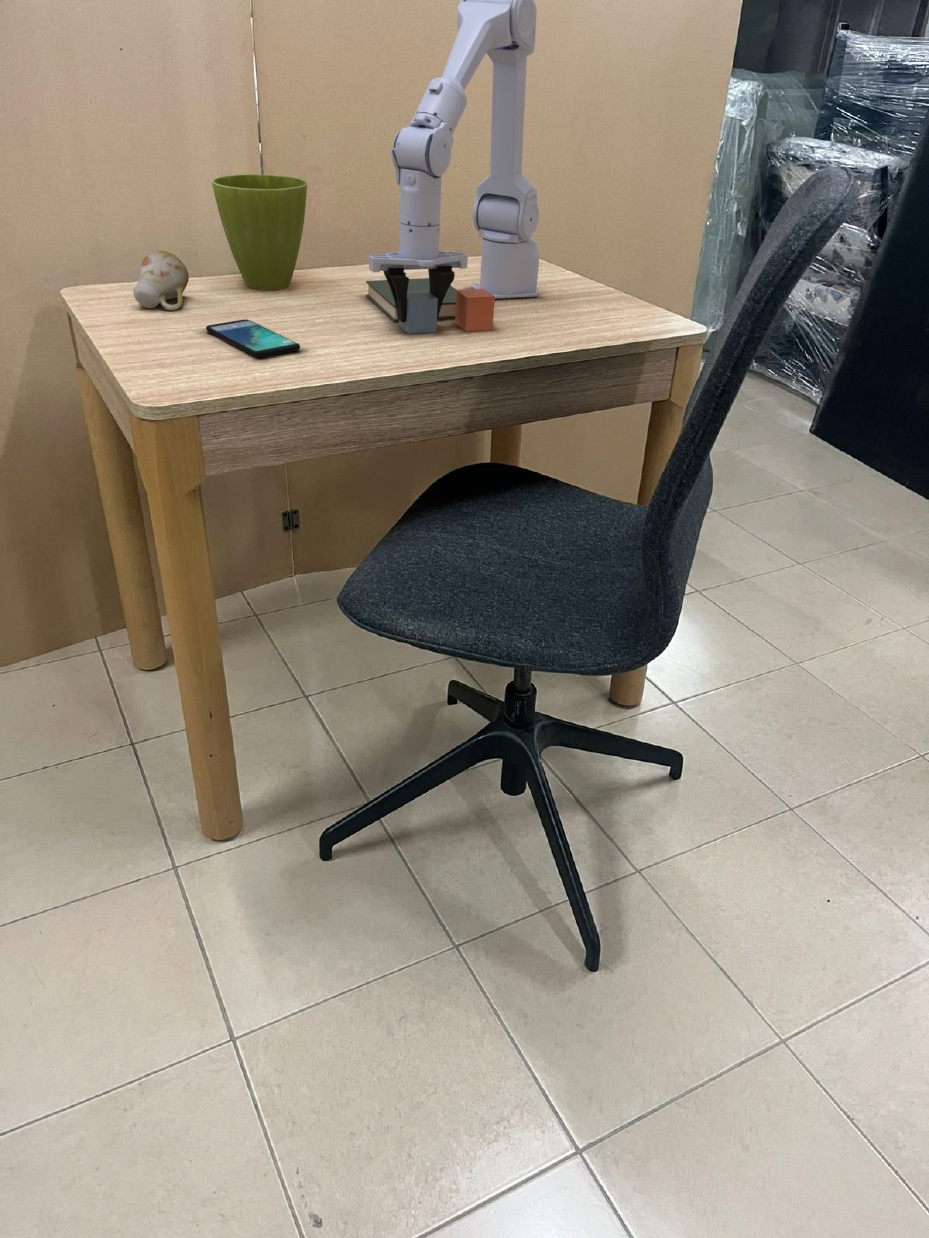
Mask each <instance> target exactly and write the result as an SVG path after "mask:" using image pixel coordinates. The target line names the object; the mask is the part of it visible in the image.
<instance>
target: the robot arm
mask: <svg viewBox="0 0 929 1238" xmlns="http://www.w3.org/2000/svg"><path fill="white" fill-rule="evenodd" d="M456 8H457V9H456V25H457V31H458V32H457V34H456V37H455V39H454V42H453V45H452V47H451V51H450V53H449V55H448V59H447V60H446V61H447V62H446V64H445V67H444V70H443V71H442V75H441V77H436V78H433V79H431V81H430V82H429V84H428V86H427V88H426V90H425V92H424V94H423V96H422V97H421V100H420V102H419V105H418V107H417V109H416V111H415V112H414V115H413V117H412V119H411V122H410V123H409V125H405V127H402V129H400V130H398V131H397V133H396V134H395V137H394V140H393V143H392V149H391V150H390V154H391V160H392V164H393V167H394V169H395V182H396V184H397V186H399V243H398V245H399V246H398V247H399V251H395V252H388V253H382V254H370V255H369V256H368V269H369V270H370V271H371V272H372V273H380V272H383V275H384V277H385V280H387V282H388V284H389V286H390V289H391V292H392V294H393V298H394V301H395V305H396V310H397V317H398V319H399V320H400V321H401V322H406V315H407V290H408V284H409V279H410V278H409V277H408V276H407V275H406V274H407V272H405V271H410V270H411V271H412V270H428V272H427V273H428V278H429V284H430V293H431V294H433V295H434V296H435V297H436V298H438V303H437V321H439V319H438V317H439V313H440V309H441V306H442V303H443V300H444V297H445V295H446V293H447V291H448V289H449V287H450V285H451V286H452V283H453V282H454V281H455V276H456V275H455V274H456V273H455V271H453V269H458V268H459V269H461V270H466V269H468V263H469V262H468V261H469V260H468V258H469V255H468V254H466V253H465V252H463V251H440V229H441V202H442V201H441V198H442V197H441V195H442V176H443V175H444V174H445V173H446V171H447V170H448V168H449V166H450V163H451V158H452V148H453V145H454V139H455V138H454V137H453V135H454V132H455V131H456V128H457V127H458V124H459V122H460V120H461V118H462V115H463V113H464V111H465V109H466V107H467V104H468V98H467V95H466V93H465V90H466V88H467V87H468V85H469V83H470V82H471V80H472V78H473V76H474V75H475V73H476V71H477V70H478V67H479V66H480V64H481V63H482V61H483V59H484V58H485V56H486V55H487V57H488V58H489V59H490V60H491V62H492V90H491V91H492V92H491V93H492V96H491V124H490V125H491V126H490V127H491V128H490V129H491V130H490V160H489V161H490V162H489V163H490V165H489V166H490V167H489V175H488V176H487V177H486V178H485V179H483V180H482V181H481V182H480V183H479V184H478V185H477V187H476V194H475V200H474V204H473V208H472V222H473V225H474V228H475V230H476V231H477V232H478V237H479V238H482V241H481V243H482V244H481V256H480V257H481V260H480V274H479V283H475V284H473V283H472V284H471V286H470V287H471V289H485V290H486V291H488V292H489V293H491V294H492V295H494V296H495V300H496V299H513V298H532V297H534V298H535V297H538V296H539V293H538V292H537V287H538V278H539V267H540V248H539V244H538V242H537V241H536V239H535V238H533V237H532V236H533V235H534V234H535V232H536V229H537V228H538V224H539V217H540V210H539V205H538V191H537V190H538V189H537V188H536V186H535V185H534V184H532V182H530V181H529V179H527V178H526V177H525V176H524V175H523V173H522V171H523V170H522V169H523V152H524V151H523V149H524V148H523V147H524V131H525V130H524V129H525V128H524V125H525V107H526V87H527V86H526V84H527V67H528V66H527V65H528V64H527V63H528V56H530V55H532V54H533V53H534V52H535V43H536V32H537V30H536V29H537V4H536V3H535V0H459V3H458V5H457V7H456Z"/></svg>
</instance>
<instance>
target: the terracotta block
mask: <svg viewBox="0 0 929 1238" xmlns="http://www.w3.org/2000/svg"><path fill="white" fill-rule="evenodd" d="M495 300H496V299H495V296H494V295H492V294H491V293H489V292H488V291H486V290H485V289H473V288H467V289H456V313H455V319H454V324H456V325H457V326H458V327H459V328H461V330H463V331H464V332H479V331H492V330H493V329H494V316H495V303H496V301H495Z"/></svg>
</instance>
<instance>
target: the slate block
mask: <svg viewBox="0 0 929 1238" xmlns="http://www.w3.org/2000/svg"><path fill="white" fill-rule="evenodd" d="M437 303H438V298H436V297H435V296H434V295H433V294H431V293H430V292H429V291H407V315H406V322H401V321H400V320H399V322H398V326H399V327H400V328H401V329H402V330H403V331H404V332H406V333H407V334H408V335H415V334H416V335H417V334H431V333H437V330H438V320H437Z"/></svg>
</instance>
